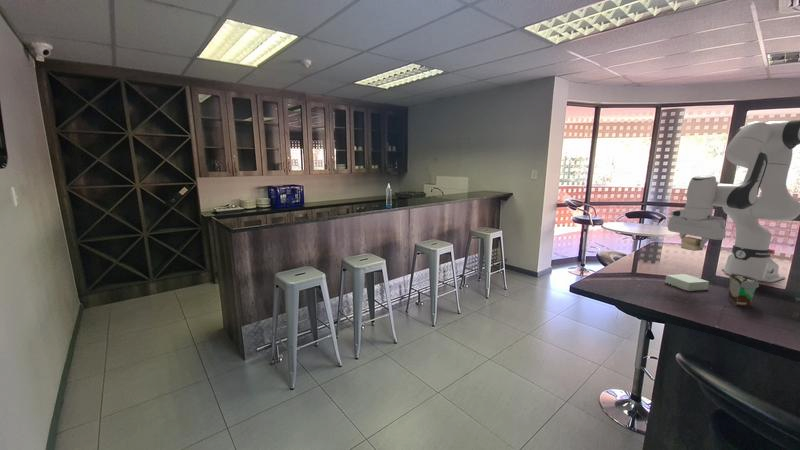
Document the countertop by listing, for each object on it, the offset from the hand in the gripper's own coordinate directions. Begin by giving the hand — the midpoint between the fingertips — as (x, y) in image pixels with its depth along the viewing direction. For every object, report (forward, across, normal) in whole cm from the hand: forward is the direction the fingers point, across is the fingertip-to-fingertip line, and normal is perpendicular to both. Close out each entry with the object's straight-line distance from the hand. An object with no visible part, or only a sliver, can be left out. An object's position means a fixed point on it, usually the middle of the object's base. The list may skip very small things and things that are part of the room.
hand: (692, 245), depth 137 cm
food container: (+19, -19, -2) cm, 27 cm away
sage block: (+19, 0, 0) cm, 19 cm away
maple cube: (+2, 0, 0) cm, 2 cm away
